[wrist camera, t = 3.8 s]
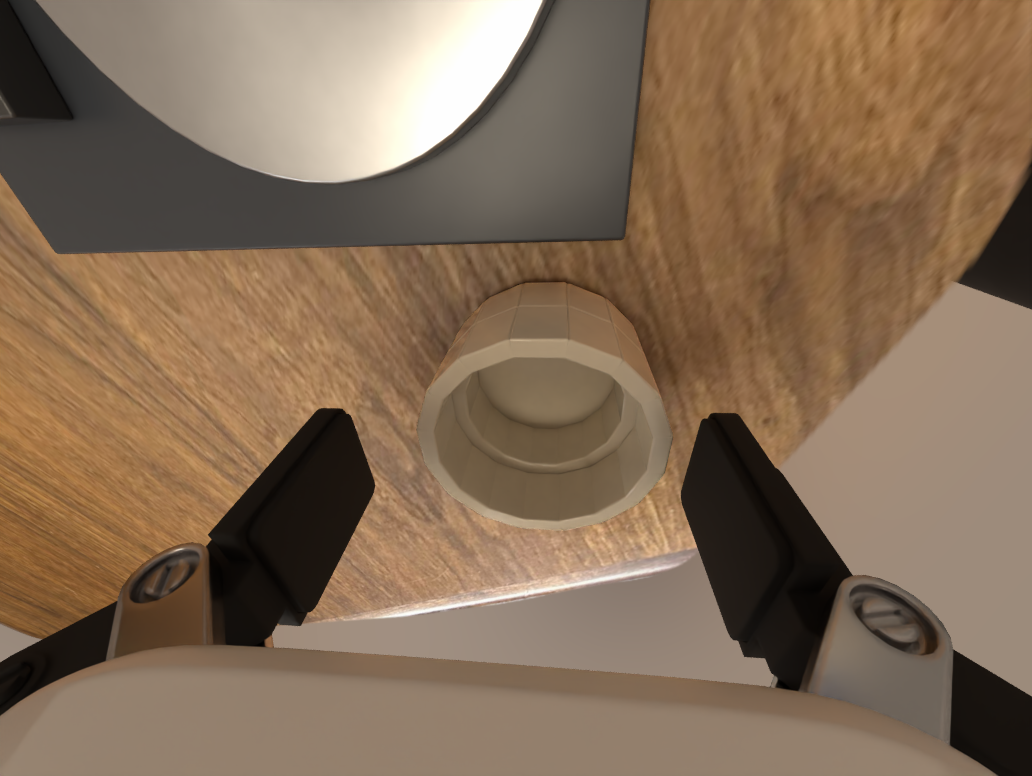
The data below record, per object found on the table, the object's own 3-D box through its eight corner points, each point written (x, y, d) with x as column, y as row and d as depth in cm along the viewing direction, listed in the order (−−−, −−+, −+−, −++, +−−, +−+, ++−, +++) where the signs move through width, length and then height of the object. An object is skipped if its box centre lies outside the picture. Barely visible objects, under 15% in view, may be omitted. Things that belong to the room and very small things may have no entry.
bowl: (653, 275, 12) (698, 339, 8) (628, 439, 16) (649, 536, 12) (444, 278, 13) (392, 338, 9) (467, 434, 16) (438, 524, 12)
